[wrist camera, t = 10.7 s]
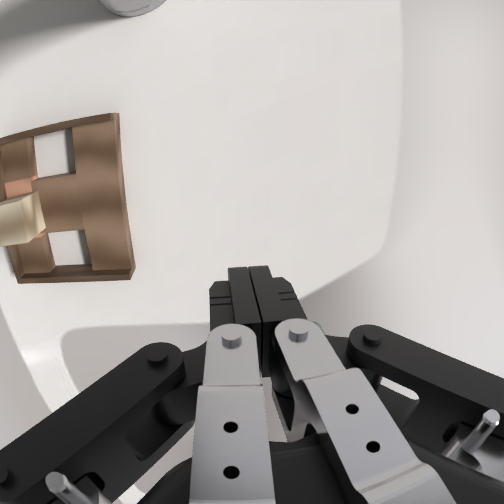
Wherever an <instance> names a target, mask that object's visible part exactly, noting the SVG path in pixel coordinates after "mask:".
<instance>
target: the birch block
mask: <svg viewBox="0 0 504 504" xmlns="http://www.w3.org/2000/svg"><path fill="white" fill-rule="evenodd" d="M45 228H46V226H45V222H44V217H43V213H42V208H41V203H40V199H39V193H38V191H34V192H29V193H25V194H20V195H16V196H12V197H9V198H7V199H5V200H4V201H2V202H0V247H2V246H8V245H15V244H22V243H28V242H29V241H31V240H32V239H33V238H34V237H35V236H37V235H38V234H39V233H40V232H41V231H43V230H44V229H45Z"/></svg>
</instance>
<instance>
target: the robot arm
mask: <svg viewBox="0 0 504 504" xmlns="http://www.w3.org/2000/svg"><path fill="white" fill-rule="evenodd" d="M99 1H100V2H101V3H102V4H103V5H104V6H105V7H106V8H107V9H108V10H109V11H111V12H112V13H114V14H117V15H120V16H127V17H129V16H138V15H142V14H145V13H148V12H150V11H152V10H154V9H155V8H157V7H159V6H160V5H161V4H162V3H164V2H165V1H166V0H99ZM209 295H210V333H209V335H208V338H207V341H206V342H205V343H204V344H202V345H201V346H199V347H197V348H195V349H192V350H188V351H185V352H181V350H180V349H179V348H178V347H177V346H175V345H172V344H170V343H164V342H163V343H162V342H159V343H152V344H149V345H146V346H144V347H143V348H141V349H140V350H139V351H137V352H136V353H134V354H133V355H132V356H130V357H129V358H127V359H126V360H125V361H123V362H122V363H121V364H119V365H118V366H116V367H115V368H114V369H113V370H111V371H110V372H108V373H107V374H106V375H104V376H103V377H101V378H100V379H99V380H97V381H96V382H95V383H93V384H92V385H90V386H89V387H88V388H86V389H85V390H84V391H82V392H81V393H79V394H78V395H77V396H75V397H74V398H73V399H71V400H70V401H68V402H67V403H66V404H64V405H63V406H61V407H60V408H59V409H57V410H56V411H55V412H53V413H52V414H50V415H49V416H48V417H46V418H45V419H43V420H42V421H41V422H40V423H38V424H36V425H35V426H34V427H32V428H31V429H29V430H28V431H27V432H25V433H24V434H22V435H21V436H20V437H18V438H17V439H15V440H14V441H13V442H11V443H10V444H8V445H7V446H5V447H4V448H3V449H1V450H0V504H112V503H113V502H114V501H115V500H116V499H117V498H118V497H119V496H121V495H122V494H123V493H124V492H125V491H126V490H127V489H128V488H129V487H131V486H132V485H133V484H134V483H135V482H136V481H137V480H138V479H139V478H140V477H141V476H142V475H144V474H145V473H146V472H147V471H148V470H149V469H150V468H151V467H152V466H153V465H154V464H155V463H156V462H157V461H158V460H159V459H160V458H161V457H162V456H164V454H166V453H167V452H168V451H169V449H171V448H172V446H174V445H175V444H176V443H177V442H178V441H179V440H180V439H181V438H182V437H183V436H184V435H185V434H186V433H187V432H188V430H190V429H191V427H192V426H193V425H194V423H195V431H194V443H193V456H192V458H189V459H187V460H185V461H183V462H181V463H180V464H178V465H176V466H175V467H173V468H172V469H171V470H170V471H168V472H167V473H166V474H165V475H164V476H163V477H162V478H161V479H160V480H159V481H158V482H157V483H156V484H155V486H153V488H152V489H151V490H150V491H149V492H148V493H147V494H146V495H145V496H144V497H143V498H142V499H141V500H140V501H139V502H138V503H137V504H504V379H503V378H501V377H499V376H496V375H494V374H491V373H489V372H486V371H484V370H481V369H479V368H477V367H474V366H471V365H469V364H467V363H464V362H462V361H460V360H457V359H455V358H452V357H450V356H447V355H445V354H443V353H441V352H438V351H436V350H433V349H431V348H429V347H426V346H424V345H422V344H419V343H417V342H414V341H412V340H410V339H407V338H405V337H403V336H400V335H398V334H395V333H393V332H391V331H389V330H386V329H384V328H382V327H379V326H375V325H360V326H358V327H356V328H354V329H353V330H352V331H351V332H350V335H349V338H346V337H334V336H328V335H325V334H323V332H322V330H321V329H320V327H319V326H318V325H317V324H315V323H314V322H312V321H309V320H307V317H306V315H305V313H304V311H303V309H302V307H301V304H300V302H299V300H298V299H297V296H296V294H295V293H294V289H293V287H292V285H291V283H289V282H288V281H287V280H285V279H284V278H283V277H277V278H272V275H271V273H270V270H269V267H268V266H250V267H248V268H247V267H235V268H228V281H216V282H214V283H213V285H212V286H211V288H210V289H209ZM260 369H261V374H262V377H271V381H272V397H273V401H274V404H275V406H276V409H277V412H278V415H279V418H280V421H281V424H282V427H283V429H284V432H285V435H286V438H287V443H286V442H271V441H269V439H268V430H267V420H266V411H265V401H264V392H263V385H262V384H261V383H260ZM382 377H385V378H387V379H389V380H391V381H393V382H396V383H398V384H400V385H402V386H404V387H407V388H408V389H411V390H413V391H414V392H416V393H417V395H418V396H419V399H418V400H413V399H410V398H408V397H406V396H404V395H402V394H400V393H397V392H395V391H393V390H391V389H389V388H387V387H385V386H383V385H381V384H380V382H381V380H382Z"/></svg>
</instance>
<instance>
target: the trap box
mask: <svg viewBox="0 0 504 504" xmlns="http://www.w3.org/2000/svg"><path fill="white" fill-rule="evenodd" d="M68 128H72V135H73V148H74V159H75V168H76V172H73V173H67V174H60V175H54V176H49V177H43V178H38V175H37V167H36V158H35V148H34V136H37V135H41V134H45V133H49V132H54V131H58V130H63V129H68ZM34 191H38V193H39V199H40V203H41V208H42V213H43V217H44V222H45V226H46V228H45V229H44V230H43V231H41V232H40V233H39V234H38V235H37V236H35V237H34V238H33V239H32V240H31V241H29V242H28V243H22V244H15V245H8V246H7V248H8V252H9V255H10V259H11V262H12V266H13V269H14V272H15V276H16V279H17V282H18V284H23V283H61V282H91V281H117V280H130V279H131V277H132V275H133V272H134V270H135V268H136V266H135V260H134V254H133V248H132V242H131V235H130V228H129V221H128V213H127V205H126V197H125V188H124V178H123V167H122V155H121V141H120V123H119V113H108V114H102V115H96V116H90V117H85V118H79V119H74V120H69V121H65V122H60V123H56V124H51V125H47V126H43V127H39V128H35V129H31V130H27V131H24V132H20V133H16V134H13V135H10V136H6V137H3V138H0V202H2V201H4V200H5V199H7V198H9V197H12V196H16V195H20V194H25V193H29V192H34ZM84 229H85V235H86V240H87V245H88V250H89V254H90V259H91V264H84V265H65V266H55V262H54V258H53V254H52V250H51V246H50V241H49V237H48V233H51V232H62V231H72V230H84Z"/></svg>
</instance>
